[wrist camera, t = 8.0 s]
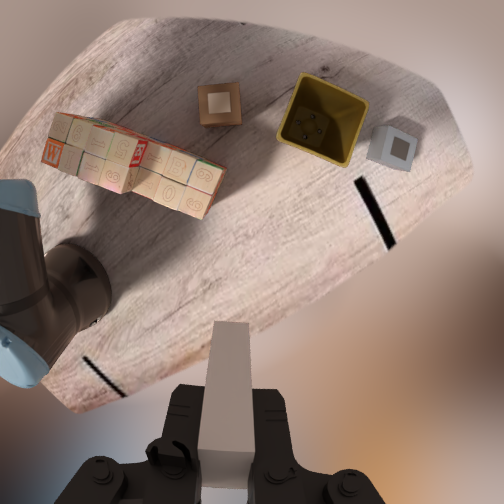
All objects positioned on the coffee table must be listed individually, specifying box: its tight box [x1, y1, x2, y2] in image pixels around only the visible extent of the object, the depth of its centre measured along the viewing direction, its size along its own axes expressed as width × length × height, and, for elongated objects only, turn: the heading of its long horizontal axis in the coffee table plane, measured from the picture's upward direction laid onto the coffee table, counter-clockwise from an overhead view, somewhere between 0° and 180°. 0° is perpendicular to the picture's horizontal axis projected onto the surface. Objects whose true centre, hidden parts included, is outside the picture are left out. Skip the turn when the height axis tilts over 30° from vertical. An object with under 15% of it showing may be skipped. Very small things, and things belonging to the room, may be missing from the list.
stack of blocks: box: [41, 112, 227, 220], centre depth 33 cm, size 21×6×12 cm, turn 65°
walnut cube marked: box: [198, 82, 242, 128], centre depth 34 cm, size 5×5×5 cm
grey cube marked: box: [366, 125, 418, 172], centre depth 36 cm, size 5×5×5 cm
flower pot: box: [276, 72, 369, 168], centre depth 33 cm, size 9×9×9 cm
